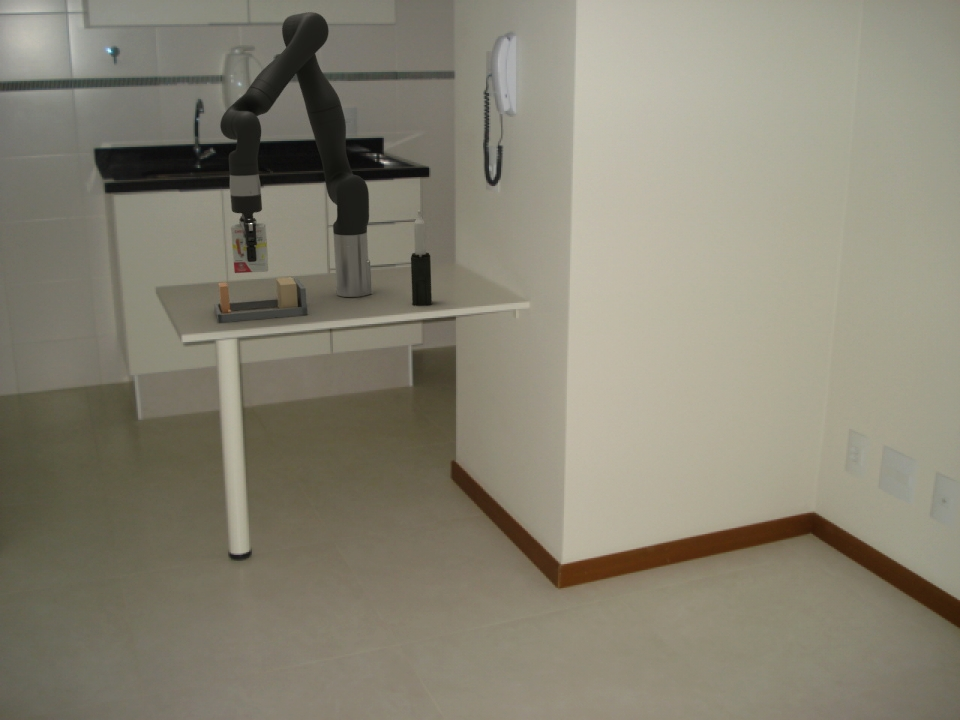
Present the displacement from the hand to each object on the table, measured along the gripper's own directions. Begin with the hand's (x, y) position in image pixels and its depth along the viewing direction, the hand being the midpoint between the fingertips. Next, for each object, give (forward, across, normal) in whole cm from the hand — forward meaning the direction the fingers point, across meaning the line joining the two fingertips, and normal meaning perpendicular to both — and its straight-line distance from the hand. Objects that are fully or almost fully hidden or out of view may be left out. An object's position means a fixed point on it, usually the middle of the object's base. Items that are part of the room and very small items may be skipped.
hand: (250, 259), depth 256 cm
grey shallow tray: (+14, 0, -1) cm, 14 cm away
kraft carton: (+14, 0, -8) cm, 17 cm away
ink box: (+3, 0, 0) cm, 3 cm away
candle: (+14, -5, -44) cm, 46 cm away
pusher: (+14, 0, +7) cm, 16 cm away
